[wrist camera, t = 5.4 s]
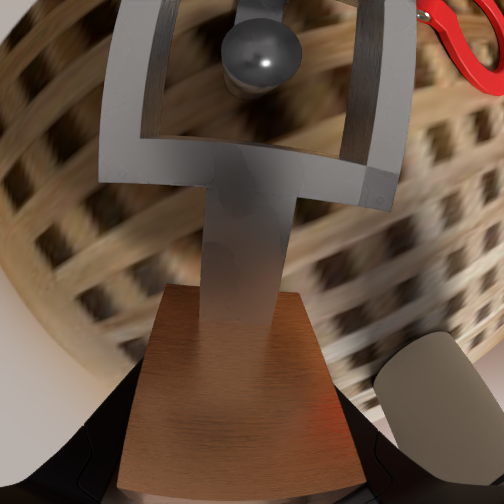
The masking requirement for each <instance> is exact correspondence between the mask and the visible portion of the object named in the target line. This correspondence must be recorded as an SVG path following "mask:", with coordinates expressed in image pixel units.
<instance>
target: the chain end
mask: <svg viewBox="0 0 504 504" xmlns="http://www.w3.org/2000/svg"><path fill="white" fill-rule="evenodd" d="M336 1H340V2H343V3H346V4H349V5H352V6H354V7H357V22H356V35H355V46H354V56H353V65H352V74H351V82H350V90H349V97H348V105H347V111H346V118H345V125H344V131H343V137H342V143H341V149H340V154H339V156H335V155H331V154H326V153H320V152H315V151H310V150H304V149H298V148H292V147H286V146H279V145H272V144H265V143H257V142H249V141H240V140H230V139H219V138H206V137H191V136H169V135H159V130H160V119H161V110H162V101H163V93H164V85H165V78H166V71H167V65H168V59H169V53H170V47H171V42H172V37H173V32H174V27H175V22H176V17H177V13H178V9H179V4H180V0H122V1H121V5H120V8H119V12H118V16H117V20H116V24H115V28H114V32H113V37H112V42H111V46H110V52H109V57H108V63H107V69H106V75H105V82H104V90H103V99H102V108H101V120H100V136H99V182H106V183H141V184H162V185H179V186H194V187H206V199H205V212H204V226H203V241H202V259H201V280H200V287H199V286H187V285H176V284H166V287H165V290H164V293H163V296H162V299H161V302H160V305H159V309H158V312H157V315H156V318H155V322H154V325H153V328H152V332H151V335H150V339H149V342H148V346H147V349H146V353H145V357H144V360H143V364H142V368H141V372H140V375H139V379H138V383H137V387H136V391H135V396H134V400H133V404H132V408H131V413H130V417H129V422H128V427H127V432H126V436H125V442H124V447H123V452H122V458H121V463H120V469H119V475H118V482H117V488H118V489H119V490H120V491H121V492H122V493H124V494H125V495H126V496H127V497H128V498H129V499H131V500H132V501H133V502H134V503H136V504H333V503H334V502H336V501H338V500H340V499H341V498H343V497H345V496H346V495H348V494H349V493H351V492H352V491H354V490H356V489H357V488H359V487H360V486H362V485H363V484H365V483H366V478H365V475H364V472H363V469H362V466H361V463H360V460H359V457H358V454H357V451H356V448H355V445H354V442H353V439H352V436H351V433H350V430H349V427H348V424H347V421H346V418H345V416H344V413H343V410H342V407H341V404H340V401H339V399H338V396H337V393H336V390H335V387H334V385H333V382H332V379H331V376H330V374H329V371H328V368H327V365H326V363H325V360H324V357H323V355H322V352H321V349H320V346H319V344H318V341H317V339H316V336H315V333H314V331H313V328H312V325H311V323H310V320H309V318H308V315H307V312H306V310H305V307H304V305H303V302H302V299H301V297H300V294H299V293H292V292H278V291H279V286H280V282H281V277H282V272H283V267H284V262H285V257H286V252H287V247H288V242H289V237H290V231H291V226H292V221H293V215H294V210H295V205H296V199H297V197H301V198H308V199H315V200H322V201H329V202H336V203H342V204H348V205H354V206H360V207H366V208H372V209H377V210H383V211H388V212H391V208H392V204H393V200H394V196H395V192H396V188H397V184H398V179H399V175H400V170H401V165H402V160H403V155H404V150H405V144H406V139H407V133H408V126H409V120H410V112H411V105H412V96H413V87H414V75H415V61H416V0H336Z"/></svg>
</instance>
